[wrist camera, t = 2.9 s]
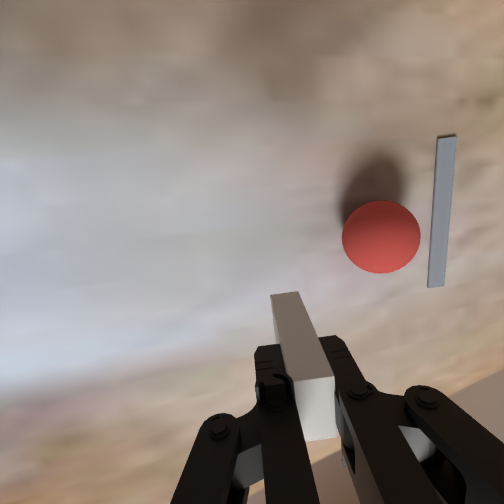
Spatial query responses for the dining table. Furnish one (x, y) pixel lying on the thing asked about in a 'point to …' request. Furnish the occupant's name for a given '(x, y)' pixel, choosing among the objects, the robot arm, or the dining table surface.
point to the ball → (381, 237)
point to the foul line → (441, 210)
